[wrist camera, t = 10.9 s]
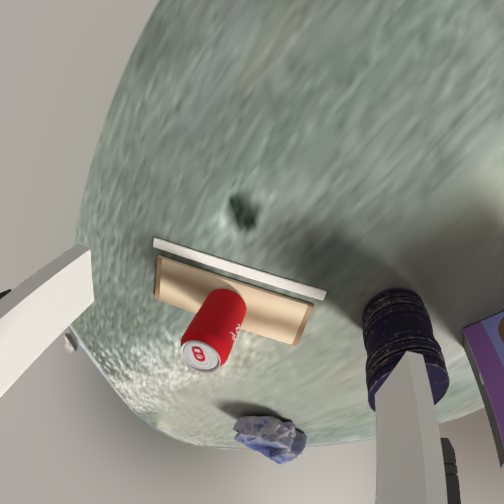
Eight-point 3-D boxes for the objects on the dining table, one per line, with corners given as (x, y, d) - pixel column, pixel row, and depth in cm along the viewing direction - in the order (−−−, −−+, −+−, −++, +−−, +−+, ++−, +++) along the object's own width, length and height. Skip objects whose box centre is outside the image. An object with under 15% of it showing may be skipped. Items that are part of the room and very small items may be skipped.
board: (159, 255, 46) (157, 256, 46) (313, 304, 44) (313, 307, 43) (156, 296, 50) (154, 298, 49) (297, 343, 48) (296, 346, 47)
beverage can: (213, 319, 48) (184, 373, 38) (203, 285, 46) (169, 336, 35) (251, 320, 47) (229, 377, 36) (244, 285, 44) (217, 339, 34)
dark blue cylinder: (348, 323, 44) (348, 402, 31) (390, 274, 39) (410, 349, 26) (395, 349, 44) (407, 425, 31) (437, 306, 39) (466, 380, 26)
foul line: (154, 237, 45) (153, 237, 45) (326, 291, 42) (326, 292, 42) (154, 246, 46) (153, 246, 46) (323, 299, 43) (323, 300, 43)
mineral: (307, 463, 49) (274, 476, 53) (314, 428, 57) (284, 445, 62) (248, 427, 49) (220, 444, 53) (262, 394, 58) (235, 413, 62)
